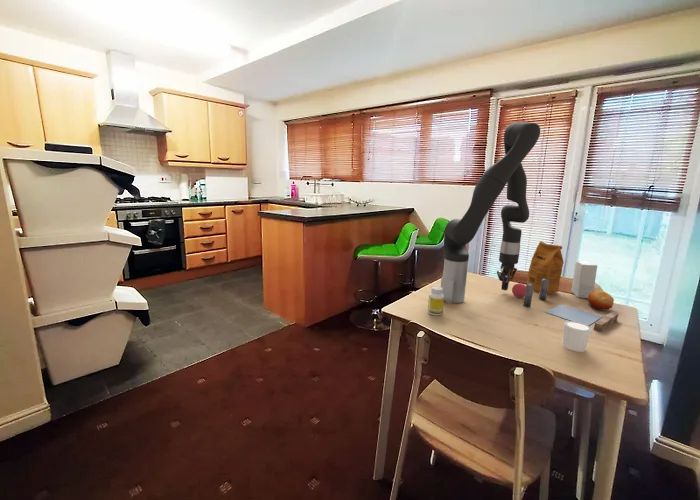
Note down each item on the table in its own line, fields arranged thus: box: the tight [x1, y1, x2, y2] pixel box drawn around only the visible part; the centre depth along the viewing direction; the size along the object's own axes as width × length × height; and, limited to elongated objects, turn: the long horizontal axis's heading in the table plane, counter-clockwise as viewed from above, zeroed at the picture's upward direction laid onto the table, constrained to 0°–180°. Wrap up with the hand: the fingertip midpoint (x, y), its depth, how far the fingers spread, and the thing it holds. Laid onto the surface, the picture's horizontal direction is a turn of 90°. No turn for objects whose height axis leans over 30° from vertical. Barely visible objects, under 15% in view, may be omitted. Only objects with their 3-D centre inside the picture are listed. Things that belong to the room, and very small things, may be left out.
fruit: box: [587, 290, 615, 311], centre depth 127 cm, size 8×8×8 cm
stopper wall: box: [593, 311, 619, 332], centre depth 113 cm, size 16×2×2 cm, turn 126°
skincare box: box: [570, 260, 598, 299], centre depth 140 cm, size 8×6×15 cm
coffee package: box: [526, 240, 564, 295], centre depth 145 cm, size 10×12×22 cm
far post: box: [538, 278, 549, 302], centre depth 135 cm, size 3×3×9 cm
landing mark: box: [544, 303, 603, 327], centre depth 121 cm, size 14×14×1 cm
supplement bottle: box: [427, 286, 445, 316], centre depth 119 cm, size 5×5×10 cm
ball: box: [511, 283, 526, 298], centre depth 137 cm, size 6×6×6 cm
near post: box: [522, 283, 534, 308], centre depth 127 cm, size 3×3×9 cm
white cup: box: [562, 320, 593, 353], centre depth 97 cm, size 7×7×7 cm
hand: (504, 289), depth 142 cm, fingers closed
